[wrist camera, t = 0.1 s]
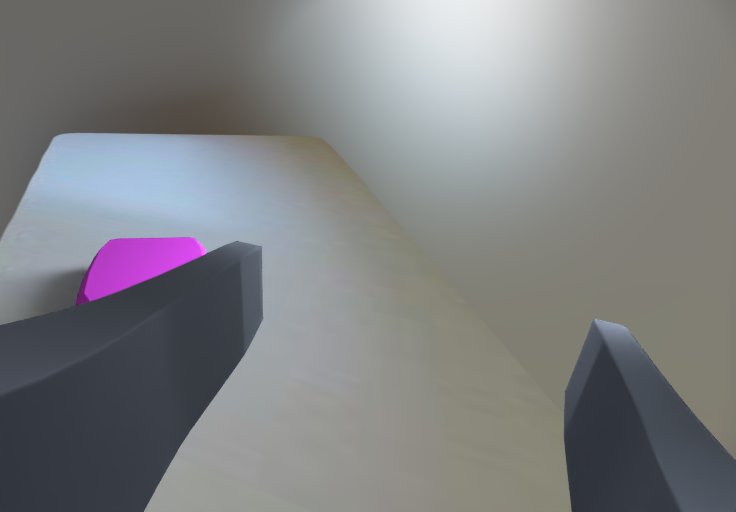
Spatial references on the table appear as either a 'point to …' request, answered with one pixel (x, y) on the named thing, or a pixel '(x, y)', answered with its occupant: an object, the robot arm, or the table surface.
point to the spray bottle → (134, 263)
